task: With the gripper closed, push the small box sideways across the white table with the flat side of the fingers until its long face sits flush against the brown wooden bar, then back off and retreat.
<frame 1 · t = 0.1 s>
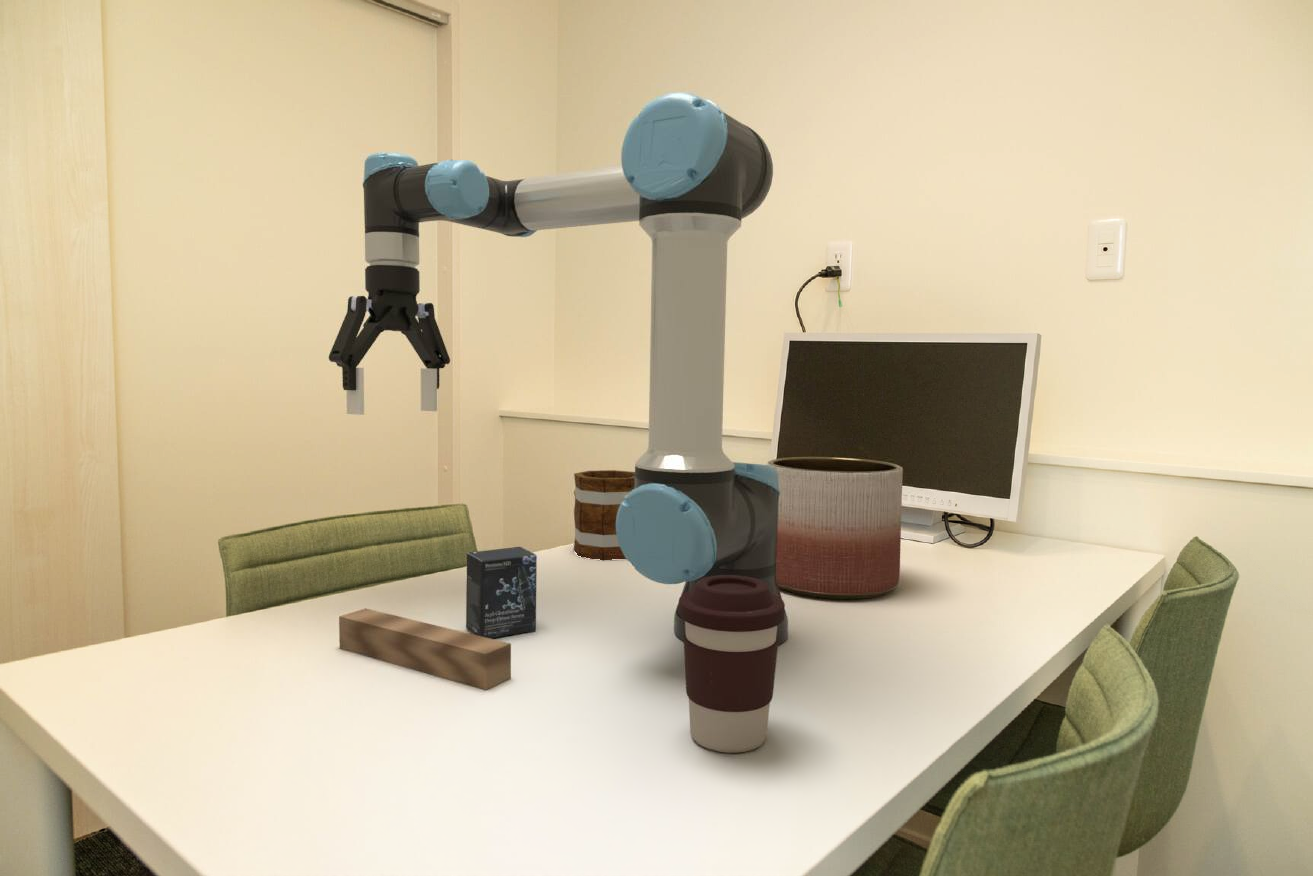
hand: (394, 412, 119), 28 cm above the table, fingers open, 13 cm apart
coffee cup: (728, 739, 77), on the table
mug: (617, 556, 151), on the table
planter: (829, 585, 134), on the table
brown wooden bar: (421, 662, 95), on the table
box: (501, 632, 107), on the table
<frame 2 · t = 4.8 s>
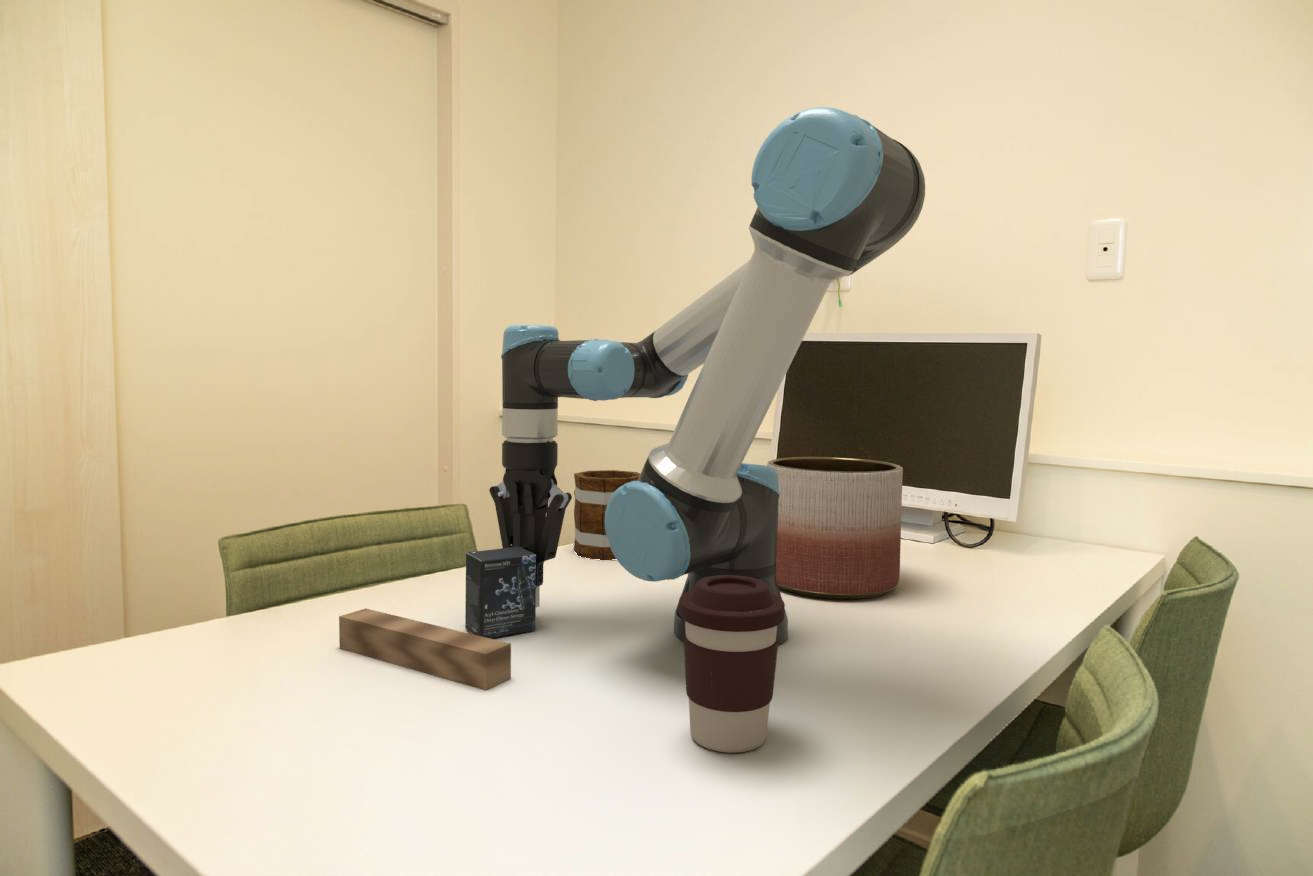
hand: (529, 607, 112), 2 cm above the table, fingers closed
box: (500, 632, 107), on the table, touching gripper
everything else where it was.
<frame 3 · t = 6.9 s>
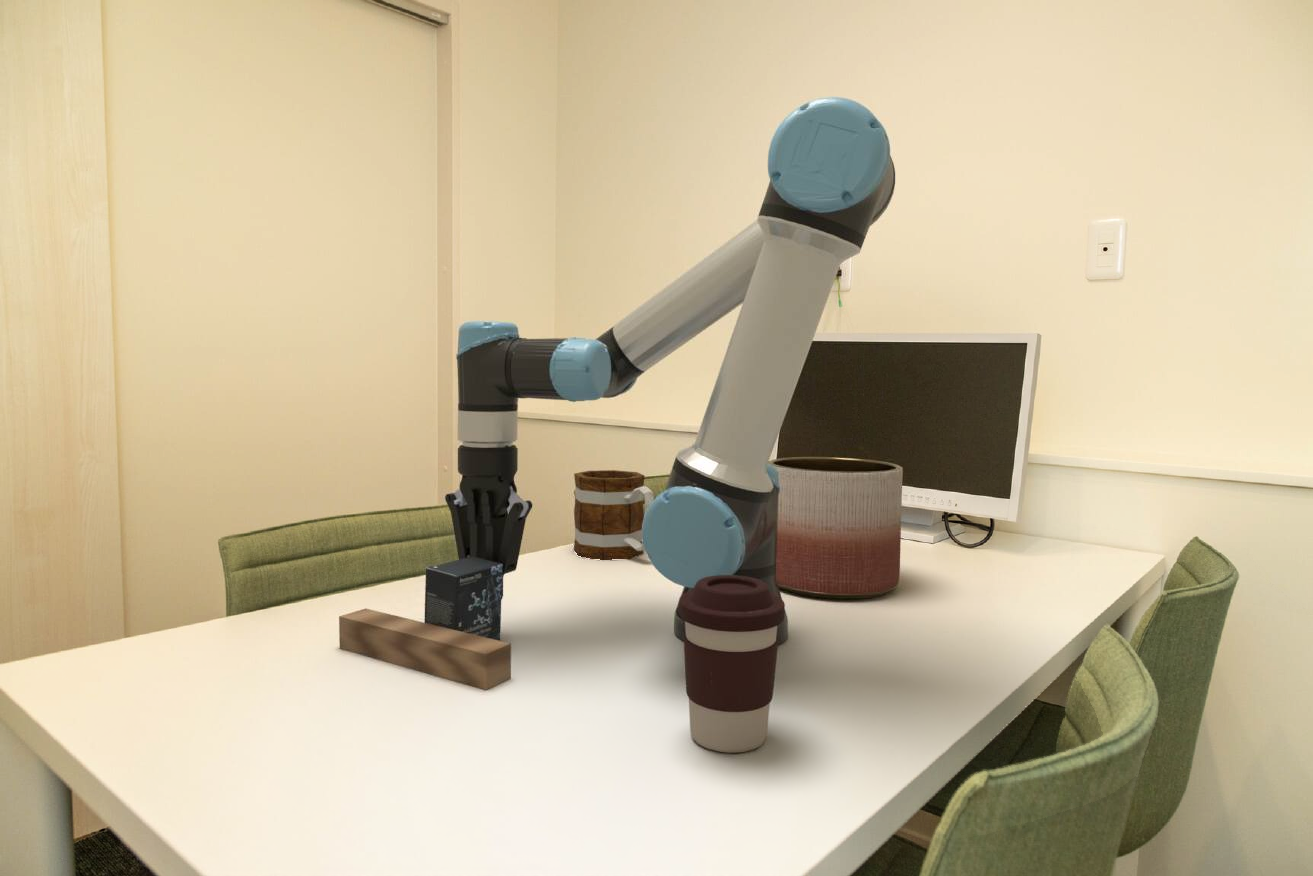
hand: (487, 623, 105), 2 cm above the table, fingers closed
box: (462, 649, 100), on the table, touching gripper
everything else where it was.
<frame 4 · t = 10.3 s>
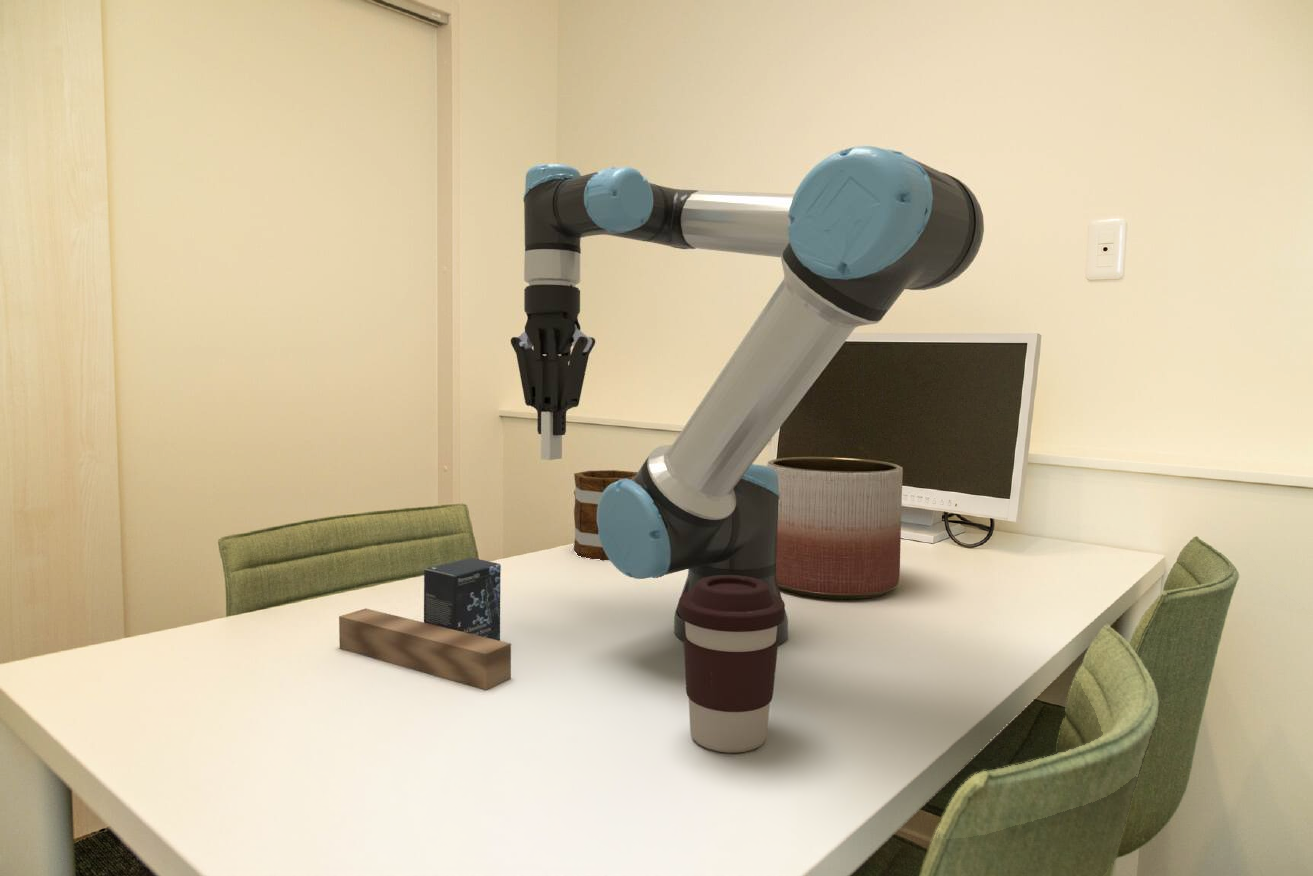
hand: (551, 458, 111), 22 cm above the table, fingers closed
box: (462, 650, 100), on the table
everything else where it was.
at the end: box inside the target area on the table beside the brown wooden bar (0.7 cm from its centre), on the table; box tilted 0°; box moved 7.9 cm from its start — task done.
